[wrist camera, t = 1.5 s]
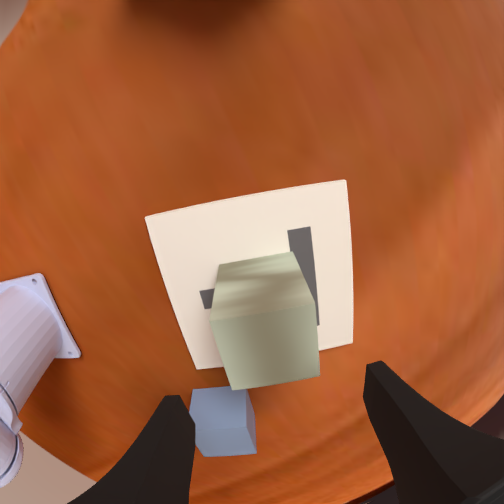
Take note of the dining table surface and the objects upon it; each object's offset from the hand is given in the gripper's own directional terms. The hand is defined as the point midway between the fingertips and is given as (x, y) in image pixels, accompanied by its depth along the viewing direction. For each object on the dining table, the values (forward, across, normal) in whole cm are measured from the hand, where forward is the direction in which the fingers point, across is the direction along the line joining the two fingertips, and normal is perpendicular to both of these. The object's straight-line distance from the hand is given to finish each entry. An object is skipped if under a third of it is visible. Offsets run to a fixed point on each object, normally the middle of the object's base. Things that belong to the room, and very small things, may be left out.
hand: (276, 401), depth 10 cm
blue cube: (+10, +5, +11) cm, 15 cm away
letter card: (+9, 0, 0) cm, 9 cm away
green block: (+9, 0, 0) cm, 9 cm away
